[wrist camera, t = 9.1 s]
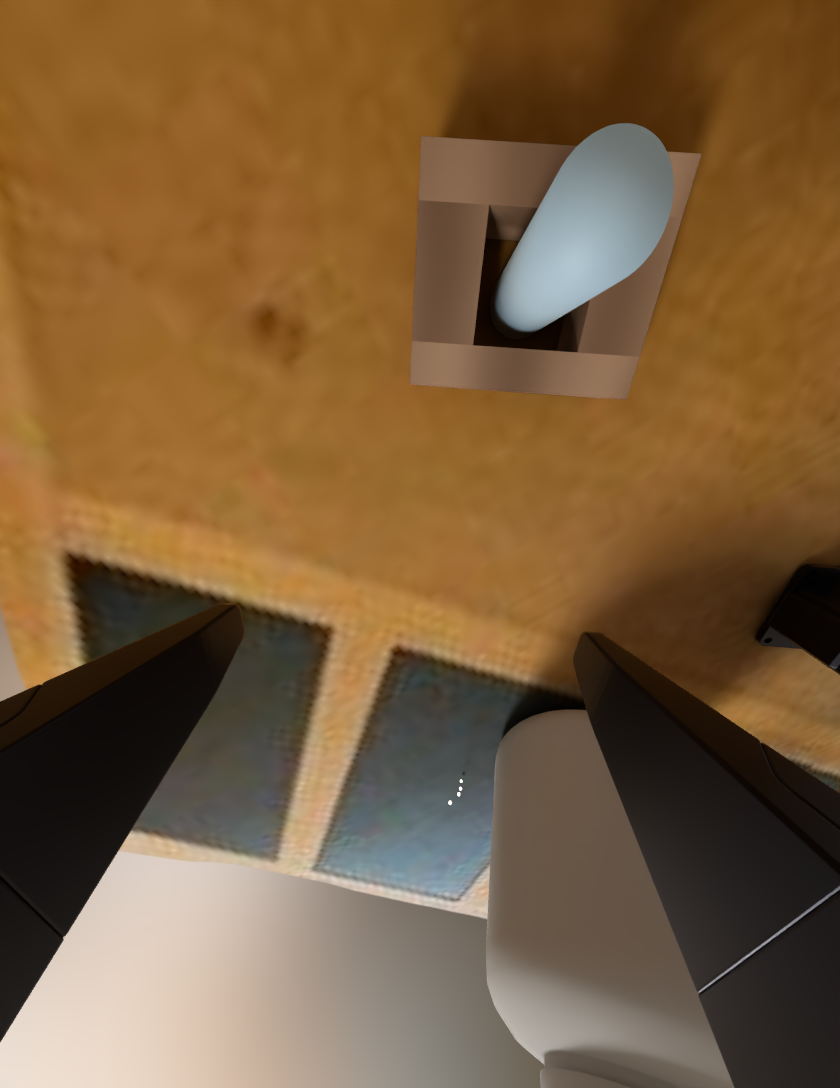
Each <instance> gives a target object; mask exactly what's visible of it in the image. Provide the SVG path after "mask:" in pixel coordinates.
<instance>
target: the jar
mask: <svg viewBox="0 0 840 1088" xmlns="http://www.w3.org/2000/svg"><path fill="white" fill-rule="evenodd" d="M462 782H463V781H462V780H460V783H462ZM459 790H462V787H459ZM457 795H458V796H460V792H458V793H457ZM451 804H452V802H451V801H449V805H451ZM486 968H487V984H488V987H489V990H490V994H491V996H492V1000H493V1002H494V1006H495V1007H496V1009H497V1011H498V1013H499V1014H500V1016H501V1017H502V1019H503V1020H504V1022H505V1023H506V1025H507V1027H508V1028H509V1030H510V1031H511V1033H512V1034H513V1036H514V1037H515V1039H516V1040H517V1041H518V1042H519V1043H520V1044H521V1045H522V1046H523V1047H524V1048H525V1049H526V1050H527V1051H528V1052H530V1053H531V1054H532V1055H533V1056H535V1057H536V1058H537V1059H538V1060H539V1061H541V1062H542V1063H543V1064H544V1065H545V1069H542V1070H541V1072H540V1080H541V1088H734V1086H733V1083H732V1081H731V1078H730V1076H729V1073H728V1071H727V1068H726V1066H725V1063H724V1061H723V1058H722V1056H721V1053H720V1051H719V1048H718V1045H717V1043H716V1040H715V1038H714V1035H713V1033H712V1030H711V1028H710V1025H709V1023H708V1020H707V1018H706V1015H705V1013H704V1010H703V1008H702V1005H701V1003H700V1000H699V997H698V996H699V993H698V992H697V991H696V989H695V986H694V984H693V981H692V979H691V976H690V974H689V971H688V969H687V966H686V964H685V961H684V959H683V956H682V954H681V951H680V949H679V946H678V943H677V941H676V938H675V936H674V933H673V931H672V928H671V926H670V923H669V921H668V918H667V916H666V913H665V911H664V908H663V906H662V903H661V901H660V898H659V895H658V893H657V890H656V888H655V885H654V883H653V880H652V878H651V875H650V873H649V870H648V868H647V865H646V863H645V860H644V858H643V855H642V853H641V850H640V847H639V845H638V842H637V840H636V837H635V835H634V832H633V830H632V827H631V825H630V822H629V820H628V817H627V815H626V812H625V810H624V807H623V804H622V802H621V799H620V797H619V794H618V792H617V789H616V787H615V784H614V782H613V779H612V777H611V774H610V772H609V769H608V767H607V764H606V762H605V759H604V756H603V754H602V751H601V749H600V746H599V744H598V741H597V739H596V736H595V734H594V731H593V728H592V726H591V723H590V720H589V717H588V714H587V710H557V711H548V712H544V713H540V714H537V715H533V716H531V717H529V718H527V719H524V720H522V721H520V722H519V723H518V724H516V725H515V726H514V727H513V728H511V729H510V730H509V731H508V732H507V734H506V735H505V736H504V738H503V739H502V740H501V741H500V744H499V747H498V750H497V755H496V760H495V778H494V798H493V818H492V839H491V859H490V879H489V899H488V920H487V940H486Z"/></svg>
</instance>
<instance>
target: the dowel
mask: <svg viewBox="0 0 840 1088" xmlns="http://www.w3.org/2000/svg"><path fill="white" fill-rule="evenodd" d="M673 195H674V178H673V170H672V164H671V161H670V158H669V155H668V153H667V151H666V149H665V147H664V145H663V144H662V142H661V141H660V140H659V138H658V137H657V136H656V135H655V134H654V133H652V132H651V131H649V130H648V129H646V128H645V127H642V126H639V125H637V124H631V123H619V124H614V125H610V126H607V127H604V128H602V129H600V130H598V131H596V132H594V133H593V134H591V135H590V136H589V137H587V138H586V139H585V140H583V141H582V142H581V143H580V144H579V145H578V146H577V147H576V148H575V149H574V150H573V151H572V153H571V154H570V155H569V156H568V158H567V159H566V161H565V162H564V163H563V165H562V167H561V168H560V170H559V172H558V174H557V175H556V177H555V179H554V181H553V183H552V184H551V186H550V188H549V190H548V192H547V193H546V195H545V197H544V199H543V201H542V202H541V204H540V206H539V208H538V209H537V211H536V213H535V215H534V217H533V218H532V220H531V222H530V224H529V226H528V227H527V229H526V231H525V233H524V235H523V236H522V238H521V240H520V242H519V243H518V245H517V247H516V249H515V251H514V252H513V254H512V256H511V258H510V260H509V261H508V263H507V265H506V267H505V269H504V270H503V272H502V274H501V276H500V277H499V279H498V281H497V283H496V285H495V287H494V289H493V291H492V294H491V298H490V316H491V319H492V322H493V324H494V326H495V328H496V329H497V330H498V331H499V332H500V333H501V334H502V335H504V336H506V337H508V338H511V339H522V338H525V337H528V336H530V335H532V334H533V333H535V332H537V331H538V330H540V329H542V328H543V327H545V326H547V325H548V324H550V323H552V322H553V321H555V320H557V319H558V318H560V317H562V316H563V315H565V314H567V313H568V312H570V311H572V310H573V309H575V308H577V307H578V306H580V305H582V304H583V303H585V302H587V301H588V300H590V299H592V298H593V297H595V296H597V295H598V294H600V293H602V292H603V291H605V290H607V289H608V288H610V287H612V286H613V285H615V284H617V283H618V282H620V281H621V280H623V279H625V278H626V277H628V276H629V275H631V274H632V273H633V272H634V271H636V270H637V269H638V268H639V267H640V266H641V265H642V264H643V263H644V262H645V260H646V259H647V258H648V257H649V256H650V254H651V253H652V251H653V250H654V249H655V247H656V245H657V244H658V242H659V240H660V238H661V236H662V234H663V232H664V230H665V227H666V225H667V222H668V219H669V216H670V212H671V208H672V202H673Z"/></svg>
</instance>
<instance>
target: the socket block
mask: <svg viewBox="0 0 840 1088" xmlns="http://www.w3.org/2000/svg"><path fill="white" fill-rule="evenodd" d="M576 147H577V146H570V145H555V144H539V143H523V142H507V141H491V140H475V139H459V138H443V137H427V136H421V156H420V177H419V199H418V220H417V242H416V264H415V285H414V307H413V329H412V350H411V372H410V384H412V385H421V386H435V387H449V388H463V389H477V390H491V391H505V392H519V393H533V394H547V395H561V396H575V397H589V398H607V399H627V396H628V393H629V390H630V386H631V383H632V380H633V377H634V373H635V370H636V367H637V364H638V360H639V357H640V354H641V350H642V347H643V344H644V341H645V337H646V334H647V331H648V328H649V324H650V321H651V318H652V315H653V311H654V308H655V305H656V301H657V298H658V295H659V292H660V288H661V285H662V282H663V279H664V275H665V272H666V269H667V266H668V262H669V259H670V256H671V252H672V249H673V246H674V243H675V239H676V236H677V233H678V230H679V226H680V223H681V220H682V217H683V213H684V210H685V207H686V203H687V200H688V197H689V194H690V190H691V187H692V184H693V181H694V177H695V174H696V171H697V168H698V164H699V161H700V158H701V154H698V153H682V152H667V153H668V155H669V158H670V161H671V164H672V170H673V178H674V195H673V202H672V208H671V212H670V216H669V219H668V222H667V225H666V227H665V230H664V232H663V234H662V236H661V238H660V240H659V242H658V244H657V245H656V247H655V249H654V250H653V251H652V253H651V254H650V256H649V257H648V258H647V259H646V260H645V262H644V263H643V264H642V265H641V266H640V267H639V268H638V269H637V270H636V271H634V272H633V273H632V274H631V275H629V276H628V277H626V278H625V279H623V280H621V281H620V282H618V283H617V284H615V285H613V286H612V287H610V288H608V289H607V290H605V291H603V292H602V293H600V294H598V295H597V296H595V297H593V298H592V299H590V300H588V301H587V302H585V303H583V304H582V305H580V306H578V307H577V308H575V309H573V310H572V311H570V312H568V313H567V314H565V315H564V318H563V323H562V328H561V333H560V337H559V342H558V347H557V351H548V350H534V349H519V348H505V347H491V346H476V345H473V341H474V333H475V324H476V315H477V307H478V298H479V289H480V280H481V272H482V263H483V254H484V246H485V239H498V240H513V241H520V240H521V238H522V236H523V235H524V233H525V231H526V229H527V227H528V226H529V224H530V222H531V220H532V218H533V217H534V215H535V213H536V211H537V209H538V208H539V206H540V204H541V202H542V201H543V199H544V197H545V195H546V193H547V192H548V190H549V188H550V186H551V184H552V183H553V181H554V179H555V177H556V175H557V174H558V172H559V170H560V168H561V167H562V165H563V163H564V162H565V161H566V159H567V158H568V156H569V155H570V154H571V153H572V151H573V150H574V149H575V148H576Z"/></svg>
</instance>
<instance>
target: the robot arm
mask: <svg viewBox="0 0 840 1088" xmlns="http://www.w3.org/2000/svg"><path fill="white" fill-rule="evenodd" d="M243 636H244V625H243V620H242V615H241V610H240V607H239V606H238V605H236V604H227V603H221V604H218V605H216V606H214V607H212V608H209V609H207V610H205V611H203V612H200V613H198V614H196V615H194V616H191V617H189V618H187V619H185V620H182V621H180V622H178V623H176V624H173V625H171V626H169V627H167V628H165V629H162V630H160V631H158V632H156V633H153V634H151V635H149V636H147V637H144V638H142V639H140V640H138V641H135V642H133V643H131V644H129V645H126V646H124V647H122V648H120V649H117V650H115V651H113V652H111V653H108V654H106V655H104V656H102V657H100V658H97V659H95V660H93V661H91V662H88V663H86V664H84V665H82V666H79V667H77V668H75V669H73V670H70V671H68V672H66V673H64V674H61V675H59V676H57V677H55V678H52V679H50V680H48V681H46V682H44V683H43V684H42V685H36V686H34V687H32V688H30V689H28V690H25V691H23V692H21V693H19V694H17V695H14V696H12V697H10V698H7V699H5V700H3V701H1V702H0V1042H1V1040H2V1039H3V1037H4V1036H5V1034H6V1032H7V1031H8V1029H9V1027H10V1026H11V1024H12V1023H13V1021H14V1019H15V1018H16V1016H17V1015H18V1013H19V1011H20V1010H21V1008H22V1006H23V1005H24V1003H25V1002H26V1000H27V998H28V997H29V995H30V993H31V992H32V990H33V989H34V987H35V985H36V984H37V982H38V981H39V979H40V977H41V976H42V974H43V972H44V971H45V969H46V968H47V966H48V964H49V963H50V961H51V960H52V958H53V956H54V955H55V953H56V951H57V950H58V948H59V947H60V945H61V943H62V942H63V937H64V936H66V934H67V933H68V931H69V930H70V928H71V926H72V925H73V923H74V922H75V920H76V919H77V917H78V915H79V914H80V912H81V910H82V909H83V907H84V905H85V904H86V902H87V901H88V899H89V897H90V896H91V894H92V893H93V891H94V889H95V888H96V886H97V885H98V883H99V881H100V880H101V878H102V876H103V875H104V873H105V871H106V870H107V868H108V867H109V865H110V864H111V862H112V860H113V859H114V857H115V855H116V854H117V852H118V851H119V849H120V847H121V846H122V844H123V843H124V841H125V839H126V838H127V836H128V834H129V833H130V831H131V830H132V828H133V826H134V825H135V823H136V821H137V820H138V818H139V817H140V815H141V813H142V812H143V810H144V809H145V807H146V805H147V804H148V802H149V800H150V799H151V797H152V796H153V794H154V792H155V791H156V789H157V788H158V786H159V784H160V783H161V781H162V779H163V778H164V776H165V775H166V773H167V771H168V770H169V768H170V767H171V765H172V763H173V762H174V760H175V758H176V757H177V755H178V754H179V752H180V750H181V749H182V747H183V745H184V744H185V742H186V741H187V739H188V737H189V736H190V734H191V733H192V731H193V729H194V728H195V726H196V724H197V723H198V721H199V720H200V718H201V716H202V715H203V713H204V712H205V710H206V708H207V707H208V705H209V703H210V702H211V700H212V698H213V697H214V695H215V693H216V692H217V690H218V688H219V686H220V684H221V682H222V680H223V678H224V676H225V674H226V672H227V670H228V668H229V666H230V664H231V662H232V660H233V658H234V656H235V653H236V651H237V649H238V647H239V645H240V643H241V641H242V639H243ZM755 639H756V641H757V642H759V643H760V644H761V645H763V646H773V647H786V648H799V649H803V650H804V651H806V652H807V653H808V654H810V655H811V656H813V657H814V658H816V659H817V660H818V661H820V662H821V663H823V664H824V665H826V666H827V667H828V668H831V669H832V670H834V671H835V672H837V673H838V674H839V675H840V566H830V565H817V564H807V565H804V566H803V567H801V568H800V569H799V570H798V572H797V573H796V575H795V576H794V578H793V580H792V581H791V583H790V584H789V586H788V587H787V589H786V590H785V592H784V594H783V595H782V597H781V598H780V600H779V601H778V603H777V604H776V606H775V608H774V609H773V611H772V612H771V614H770V615H769V617H768V618H767V620H766V622H765V623H764V625H763V626H762V628H761V629H760V631H759V632H758V634H757V636H756V638H755ZM573 664H574V668H575V671H576V675H577V678H578V682H579V685H580V689H581V693H582V696H583V700H584V703H585V707H586V710H587V714H588V717H589V720H590V723H591V726H592V728H593V731H594V734H595V736H596V739H597V741H598V744H599V746H600V749H601V751H602V754H603V756H604V759H605V762H606V764H607V767H608V769H609V772H610V774H611V777H612V779H613V782H614V784H615V787H616V789H617V792H618V794H619V797H620V799H621V802H622V804H623V807H624V810H625V812H626V815H627V817H628V820H629V822H630V825H631V827H632V830H633V832H634V835H635V837H636V840H637V842H638V845H639V847H640V850H641V853H642V855H643V858H644V860H645V863H646V865H647V868H648V870H649V873H650V875H651V878H652V880H653V883H654V885H655V888H656V890H657V893H658V895H659V898H660V901H661V903H662V906H663V908H664V911H665V913H666V916H667V918H668V921H669V923H670V926H671V928H672V931H673V933H674V936H675V938H676V941H677V943H678V946H679V949H680V951H681V954H682V956H683V959H684V961H685V964H686V966H687V969H688V971H689V974H690V976H691V979H692V981H693V984H694V986H695V989H696V991H697V992H698V993H699V996H698V997H699V1000H700V1003H701V1005H702V1008H703V1010H704V1013H705V1015H706V1018H707V1020H708V1023H709V1025H710V1028H711V1030H712V1033H713V1035H714V1038H715V1040H716V1043H717V1045H718V1048H719V1051H720V1053H721V1056H722V1058H723V1061H724V1063H725V1066H726V1068H727V1071H728V1073H729V1076H730V1078H731V1081H732V1083H733V1086H734V1088H840V793H839V792H837V791H835V790H834V789H832V788H831V787H829V786H828V785H826V784H824V783H823V782H821V781H820V780H818V779H817V778H815V777H814V776H812V775H811V774H809V773H808V772H806V771H805V770H803V769H802V768H800V767H799V766H797V765H796V764H794V763H793V762H791V761H790V760H788V759H787V758H785V757H784V756H782V755H781V754H779V753H778V752H776V751H775V750H773V749H772V748H770V747H769V746H767V745H766V744H764V743H760V741H759V740H758V739H757V738H755V737H754V736H752V735H751V734H749V733H748V732H746V731H745V730H744V729H742V728H741V727H739V726H738V725H736V724H735V723H733V722H732V721H730V720H729V719H727V718H726V717H724V716H723V715H721V714H720V713H718V712H717V711H715V710H714V709H712V708H711V707H709V706H708V705H706V704H705V703H703V702H702V701H700V700H699V699H698V698H696V697H695V696H693V695H692V694H690V693H689V692H687V691H686V690H684V689H683V688H681V687H680V686H678V685H677V684H675V683H674V682H672V681H671V680H669V679H668V678H666V677H665V676H663V675H662V674H660V673H659V672H657V671H656V670H654V669H653V668H652V667H650V666H649V665H647V664H646V663H644V662H643V661H641V660H640V659H638V658H637V657H635V656H634V655H632V654H631V653H629V652H628V651H626V650H625V649H623V648H622V647H620V646H619V645H617V644H616V643H614V642H613V641H611V640H610V639H609V638H607V637H606V636H604V635H603V634H601V633H598V632H583V633H582V634H581V635H580V638H579V641H578V644H577V647H576V649H575V652H574V656H573Z"/></svg>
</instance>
